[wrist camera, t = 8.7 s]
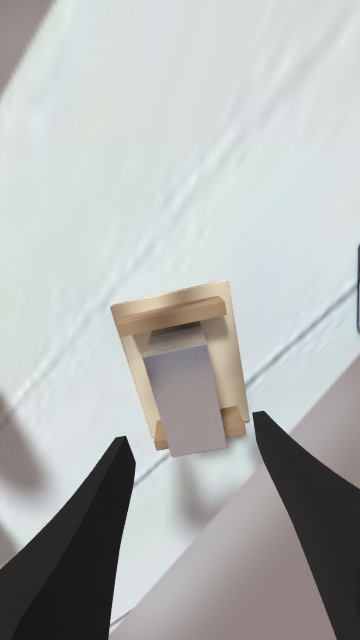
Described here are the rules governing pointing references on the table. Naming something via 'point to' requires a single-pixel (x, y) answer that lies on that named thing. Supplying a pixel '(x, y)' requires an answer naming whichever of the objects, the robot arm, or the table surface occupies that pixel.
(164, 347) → the aluminium block
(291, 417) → the table surface
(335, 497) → the robot arm
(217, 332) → the birch cradle
